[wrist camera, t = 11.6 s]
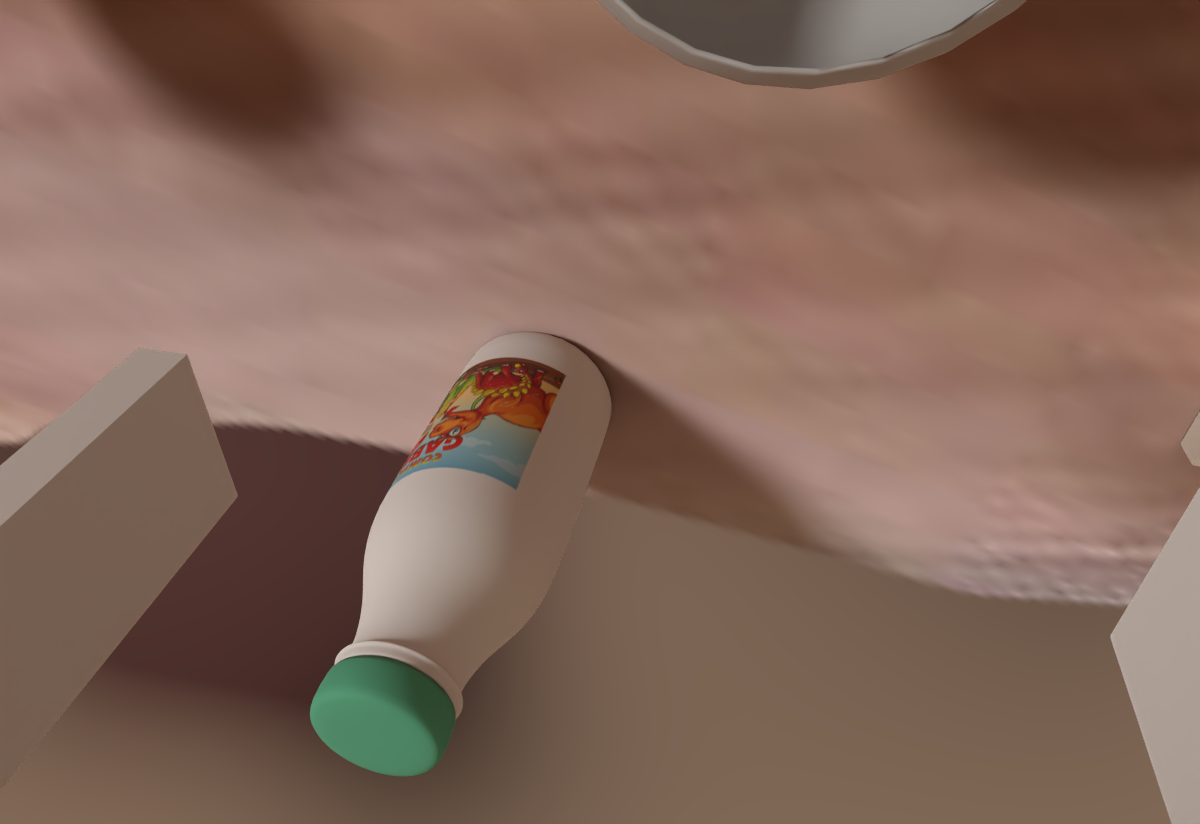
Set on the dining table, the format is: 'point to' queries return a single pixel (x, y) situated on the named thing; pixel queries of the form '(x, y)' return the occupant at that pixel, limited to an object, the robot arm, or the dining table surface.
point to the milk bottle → (464, 547)
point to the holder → (1193, 442)
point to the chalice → (806, 35)
